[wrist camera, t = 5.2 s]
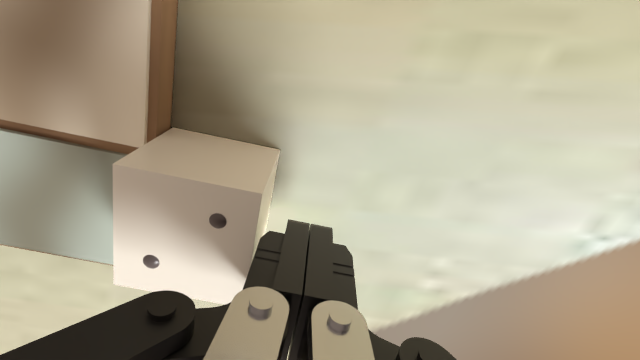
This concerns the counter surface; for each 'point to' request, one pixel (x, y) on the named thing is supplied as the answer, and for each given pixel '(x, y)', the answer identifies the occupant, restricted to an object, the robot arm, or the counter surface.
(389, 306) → the counter surface
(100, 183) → the board
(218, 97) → the counter surface
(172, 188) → the die
